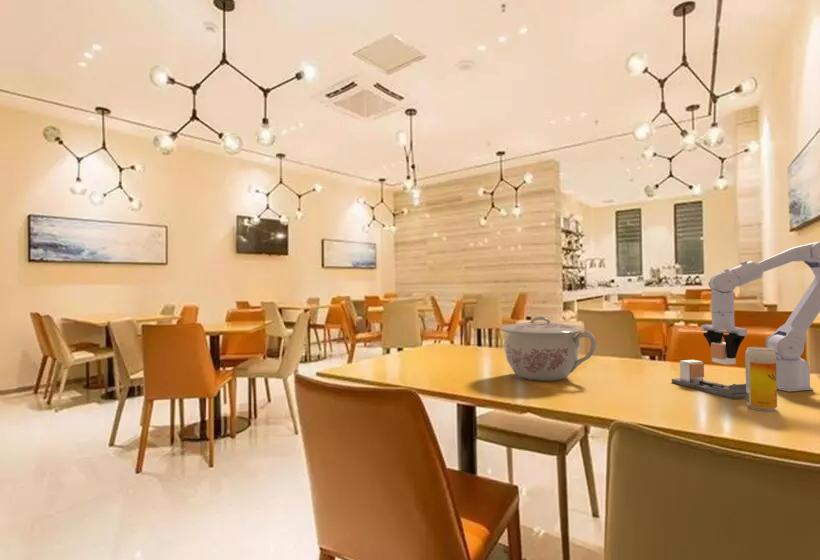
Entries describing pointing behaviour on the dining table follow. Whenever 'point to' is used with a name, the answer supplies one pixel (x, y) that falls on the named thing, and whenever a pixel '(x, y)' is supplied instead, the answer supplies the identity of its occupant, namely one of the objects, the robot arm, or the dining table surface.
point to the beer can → (761, 378)
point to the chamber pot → (544, 349)
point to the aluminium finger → (720, 353)
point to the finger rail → (694, 379)
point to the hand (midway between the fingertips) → (723, 356)
